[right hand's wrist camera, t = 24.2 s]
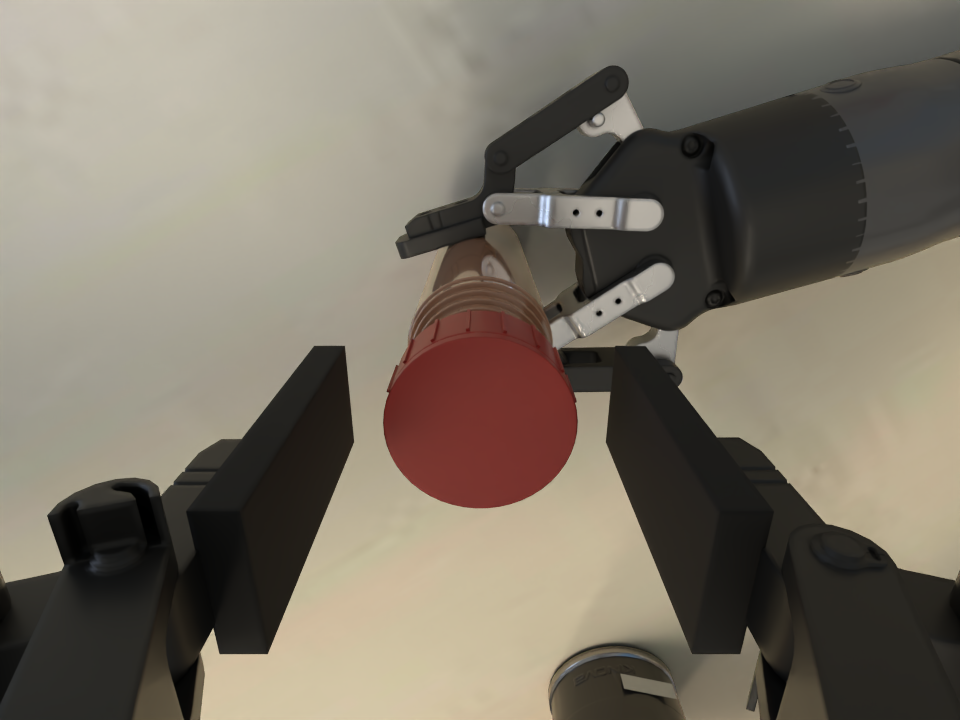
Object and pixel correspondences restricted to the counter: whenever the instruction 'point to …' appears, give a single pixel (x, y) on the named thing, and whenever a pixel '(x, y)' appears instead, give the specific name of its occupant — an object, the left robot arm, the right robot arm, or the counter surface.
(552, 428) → the cap
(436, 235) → the left robot arm
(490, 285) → the bottle
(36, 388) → the counter surface
